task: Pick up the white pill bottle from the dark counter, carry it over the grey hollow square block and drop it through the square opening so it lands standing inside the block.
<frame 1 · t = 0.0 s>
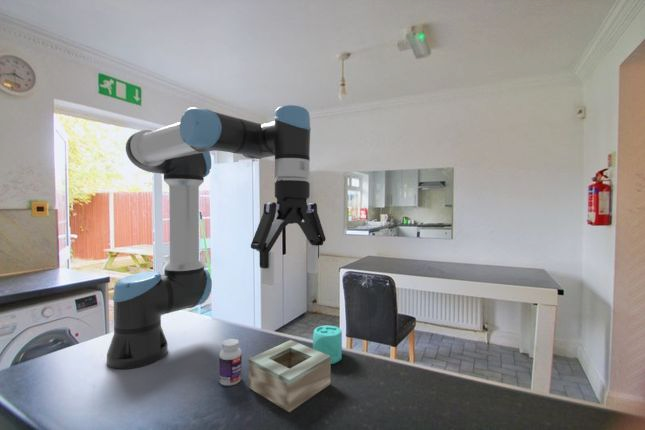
hand: (291, 278, 69), 28 cm above the counter, fingers open, 13 cm apart
grey hollow square block: (289, 385, 76), on the counter
engraved teal number block: (327, 358, 91), on the counter
pill bottle: (230, 381, 78), on the counter
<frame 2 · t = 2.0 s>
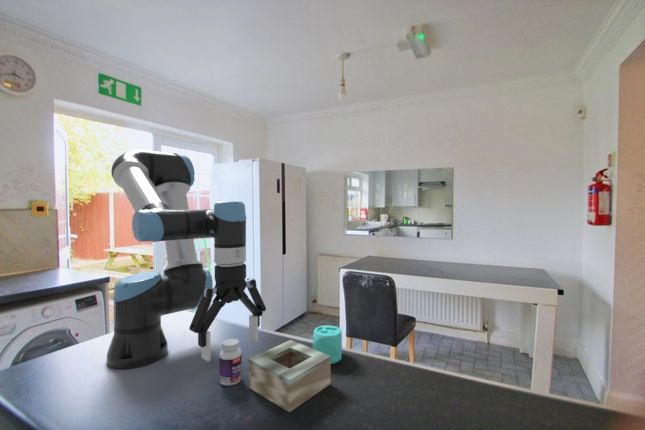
hand: (231, 349, 78), 8 cm above the counter, fingers open, 13 cm apart
nothing on the counter moved.
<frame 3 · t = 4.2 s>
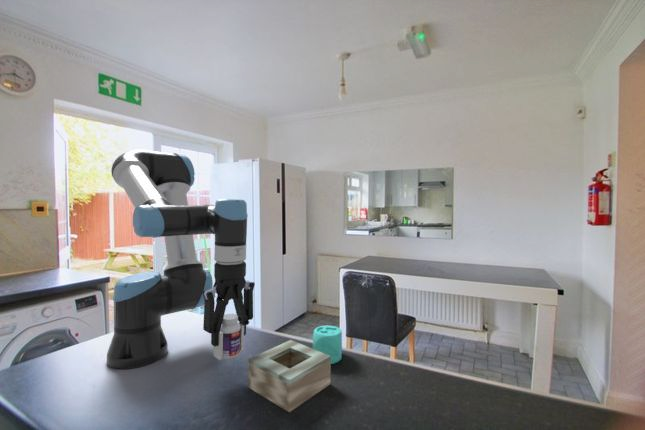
hand: (229, 352, 79), 7 cm above the counter, fingers closed on pill bottle, 5 cm apart
pill bottle: (229, 355, 79), point 6 cm above the counter, touching gripper
everything else where it was.
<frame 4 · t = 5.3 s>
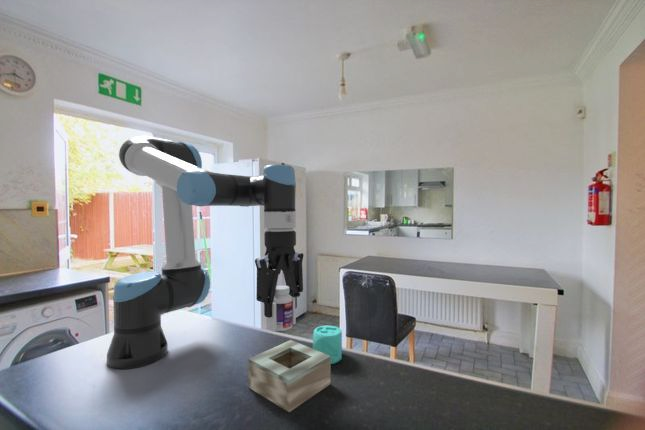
hand: (281, 326, 76), 15 cm above the counter, fingers closed on pill bottle, 5 cm apart
pill bottle: (281, 328, 76), point 14 cm above the counter, touching gripper
everything else where it was.
when the fingers open (8 cm above the counter, at t = 6.6 s): pill bottle drops 7 cm, resting on grey hollow square block.
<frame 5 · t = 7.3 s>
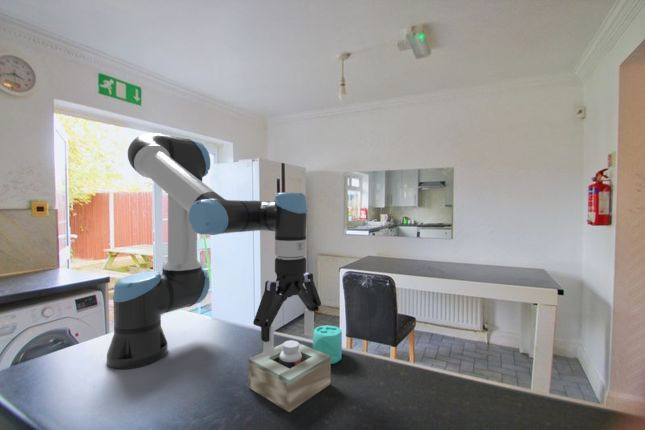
hand: (290, 344, 76), 10 cm above the counter, fingers open, 13 cm apart
pill bottle: (290, 383, 76), resting on grey hollow square block
everything else where it was.
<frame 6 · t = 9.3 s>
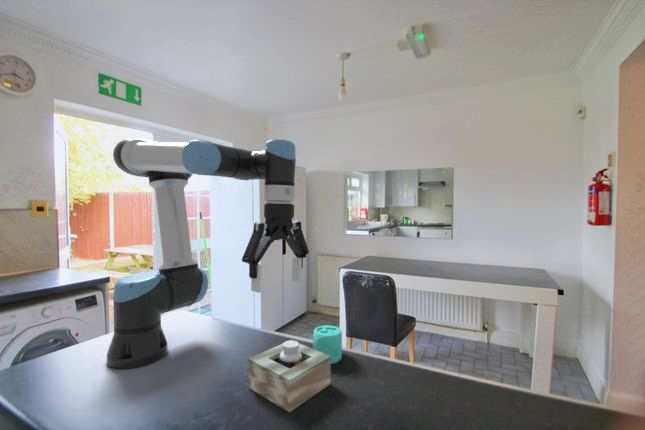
hand: (277, 286, 80), 23 cm above the counter, fingers open, 13 cm apart
nothing on the counter moved.
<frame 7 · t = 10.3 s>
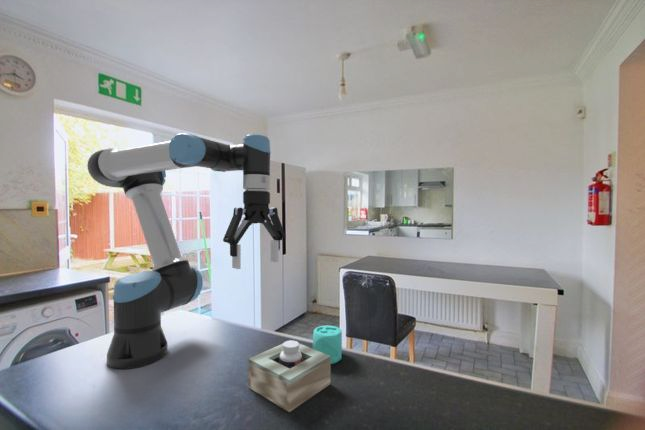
hand: (256, 264, 90), 27 cm above the counter, fingers open, 13 cm apart
nothing on the counter moved.
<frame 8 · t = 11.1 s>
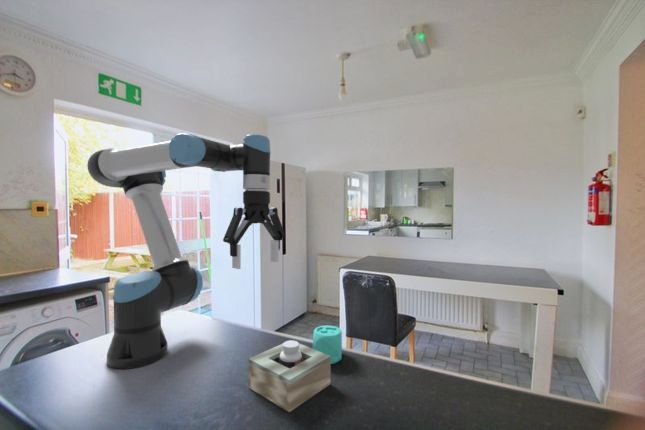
hand: (256, 264, 90), 27 cm above the counter, fingers open, 13 cm apart
nothing on the counter moved.
at the end: pill bottle inside the target area on the grey hollow square block (0.1 cm from its centre), point 0.4 cm above the grey hollow square block's base; the gripper is holding nothing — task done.
